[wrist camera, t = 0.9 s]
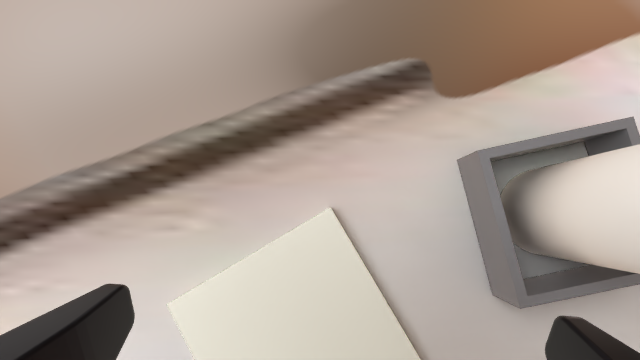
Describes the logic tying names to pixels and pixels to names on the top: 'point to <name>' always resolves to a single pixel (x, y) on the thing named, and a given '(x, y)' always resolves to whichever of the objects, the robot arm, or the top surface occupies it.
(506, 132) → the top surface
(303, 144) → the top surface
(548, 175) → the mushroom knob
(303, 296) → the cream board
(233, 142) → the top surface
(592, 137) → the collar
